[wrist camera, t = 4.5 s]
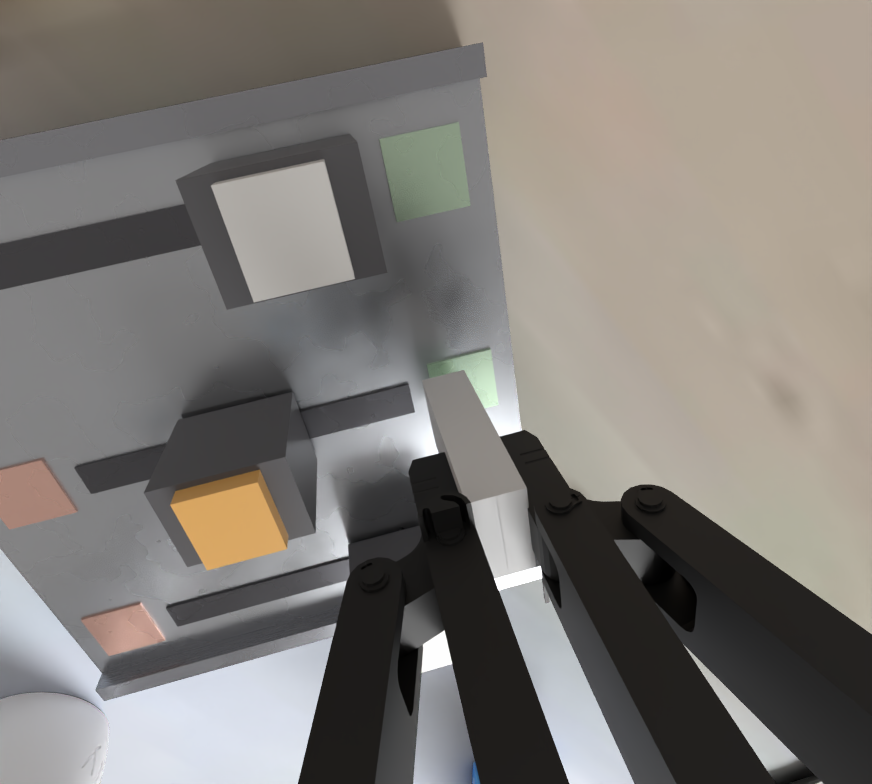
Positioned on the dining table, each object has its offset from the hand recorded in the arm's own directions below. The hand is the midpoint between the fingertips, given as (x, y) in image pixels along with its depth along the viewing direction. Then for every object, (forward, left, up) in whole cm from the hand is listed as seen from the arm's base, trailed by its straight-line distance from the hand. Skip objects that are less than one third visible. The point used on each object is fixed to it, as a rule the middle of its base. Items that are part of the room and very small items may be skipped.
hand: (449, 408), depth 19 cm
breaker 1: (-3, +8, -1) cm, 8 cm away
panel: (-7, 0, -3) cm, 8 cm away
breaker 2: (-7, 0, -1) cm, 7 cm away
